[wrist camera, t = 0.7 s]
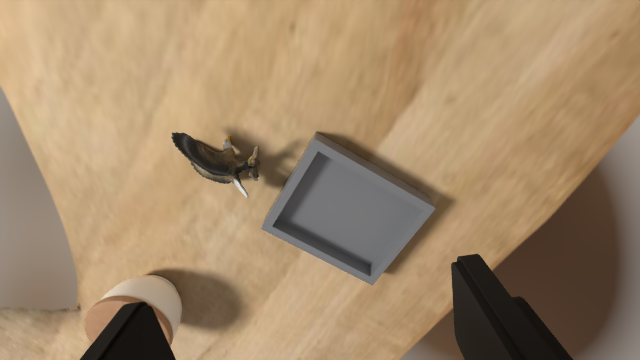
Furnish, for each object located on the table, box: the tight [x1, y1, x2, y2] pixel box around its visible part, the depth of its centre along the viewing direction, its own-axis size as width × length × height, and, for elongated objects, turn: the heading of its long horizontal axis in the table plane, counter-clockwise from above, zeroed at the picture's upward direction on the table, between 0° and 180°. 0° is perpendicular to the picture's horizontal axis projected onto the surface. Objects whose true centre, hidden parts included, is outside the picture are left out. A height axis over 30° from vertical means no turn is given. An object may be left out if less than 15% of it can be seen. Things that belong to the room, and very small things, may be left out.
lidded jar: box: [84, 275, 182, 346], centre depth 45 cm, size 11×11×9 cm
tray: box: [261, 132, 436, 285], centre depth 41 cm, size 13×16×3 cm
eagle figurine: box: [171, 132, 259, 198], centre depth 38 cm, size 8×7×9 cm
